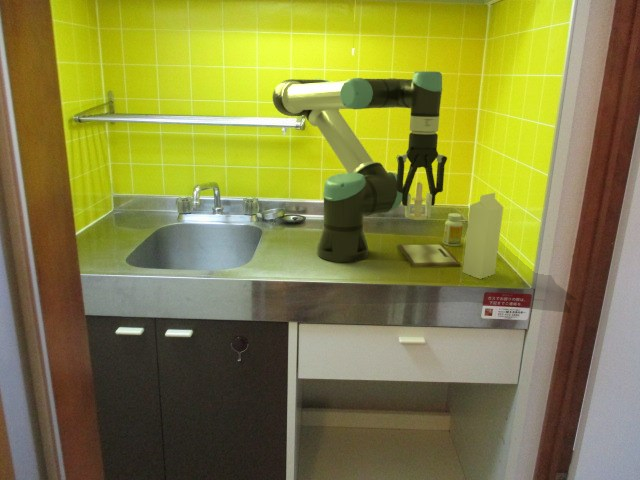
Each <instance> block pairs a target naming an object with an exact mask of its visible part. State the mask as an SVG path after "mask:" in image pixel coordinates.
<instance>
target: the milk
mask: <svg viewBox="0 0 640 480" xmlns="http://www.w3.org/2000/svg"><path fill="white" fill-rule="evenodd" d="M503 212H504V206H503V205H502V204H501V203H500V202H499V201H498V200H497V199H496V192H493V193H486V194H481V195H480V200H479V201H477V202H474V203H472V204H470V205H469V212H468V222H467V230H466V238H465V239H466V241H465V248H464V257H463V266H462V273H463V274H466V275H468V276H470V275H471V276H470V277H473V278H476V279H478V278H479V279H478V280H482V278H483V279H485V278H484V277H486V278H488V277H487V276H489V277H491V275H492V276H494V275H495V273H496V272H495V271H496V266H497V257H498V250H499V243H500V238H501V237H500V236H501V228H502V227H501V226H502V220H503V214H504V213H503ZM493 274H494V275H493Z"/></svg>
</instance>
